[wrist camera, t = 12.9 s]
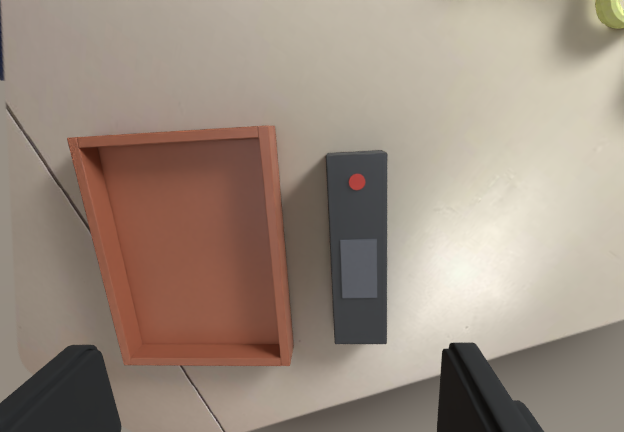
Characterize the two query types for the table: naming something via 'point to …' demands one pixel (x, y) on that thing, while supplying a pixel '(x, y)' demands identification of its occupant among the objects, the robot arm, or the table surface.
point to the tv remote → (358, 245)
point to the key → (610, 13)
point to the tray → (190, 244)
